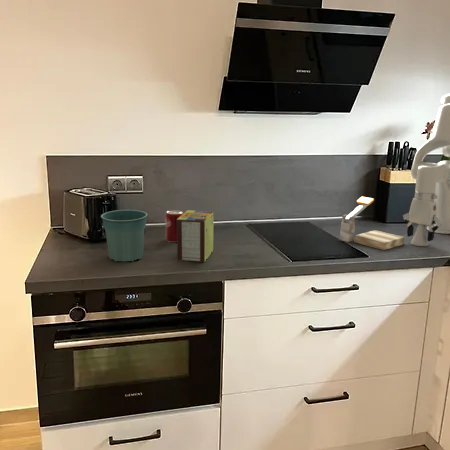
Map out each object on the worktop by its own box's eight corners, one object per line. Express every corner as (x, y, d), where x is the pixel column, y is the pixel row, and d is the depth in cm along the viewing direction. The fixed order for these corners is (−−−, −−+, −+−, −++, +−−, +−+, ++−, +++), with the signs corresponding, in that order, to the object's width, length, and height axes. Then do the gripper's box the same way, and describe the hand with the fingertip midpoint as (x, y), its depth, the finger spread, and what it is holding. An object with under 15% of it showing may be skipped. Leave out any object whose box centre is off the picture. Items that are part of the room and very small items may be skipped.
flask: (430, 247, 210) (432, 223, 207) (411, 246, 211) (413, 222, 209) (427, 242, 217) (429, 219, 214) (408, 241, 218) (411, 218, 216)
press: (362, 233, 229) (364, 210, 226) (403, 244, 214) (406, 219, 211) (339, 239, 219) (341, 215, 216) (381, 251, 204) (383, 224, 201)
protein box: (213, 250, 201) (214, 211, 197) (204, 262, 186) (205, 220, 183) (187, 248, 203) (187, 209, 199) (176, 260, 188) (176, 218, 184)
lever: (353, 223, 214) (352, 218, 213) (341, 220, 218) (340, 215, 217) (374, 203, 221) (373, 198, 220) (362, 201, 226) (361, 196, 224)
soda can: (165, 243, 210) (164, 214, 207) (166, 238, 217) (166, 210, 214) (183, 243, 210) (183, 214, 207) (184, 238, 217) (183, 210, 214)
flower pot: (129, 267, 180) (127, 222, 176) (93, 259, 187) (91, 216, 184) (157, 255, 194) (156, 213, 190) (123, 248, 201) (121, 207, 197)
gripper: (450, 198, 205) (444, 241, 209) (410, 192, 218) (405, 232, 222) (440, 200, 200) (435, 244, 204) (400, 194, 213) (395, 235, 217)
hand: (419, 238), depth 213 cm, fingers open, 8 cm apart
